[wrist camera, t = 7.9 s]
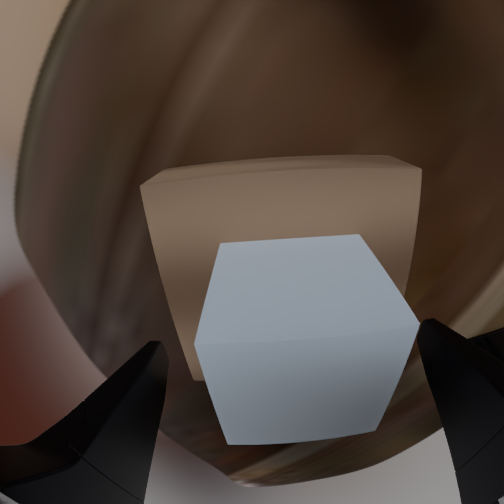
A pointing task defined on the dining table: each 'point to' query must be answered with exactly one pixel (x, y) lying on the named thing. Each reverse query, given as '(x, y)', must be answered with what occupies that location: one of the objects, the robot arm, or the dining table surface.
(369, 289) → the slate block
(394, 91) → the dining table surface
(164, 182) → the tan flat block
